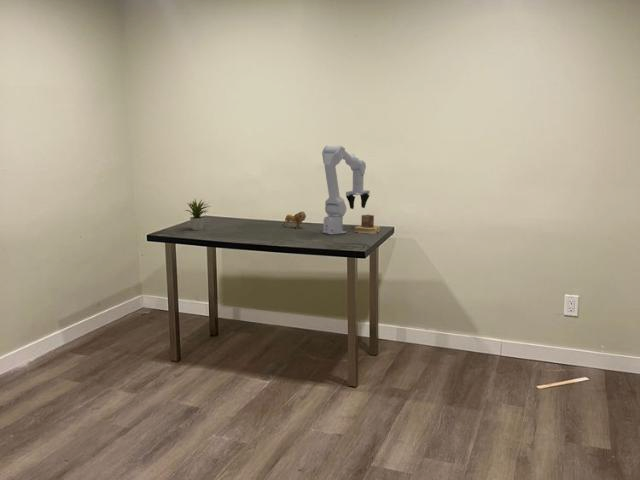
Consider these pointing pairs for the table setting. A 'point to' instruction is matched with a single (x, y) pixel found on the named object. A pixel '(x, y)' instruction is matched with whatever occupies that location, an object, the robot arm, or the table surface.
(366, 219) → the walnut block
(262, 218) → the table surface
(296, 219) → the lion figurine
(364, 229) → the oak plinth
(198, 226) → the house plant
